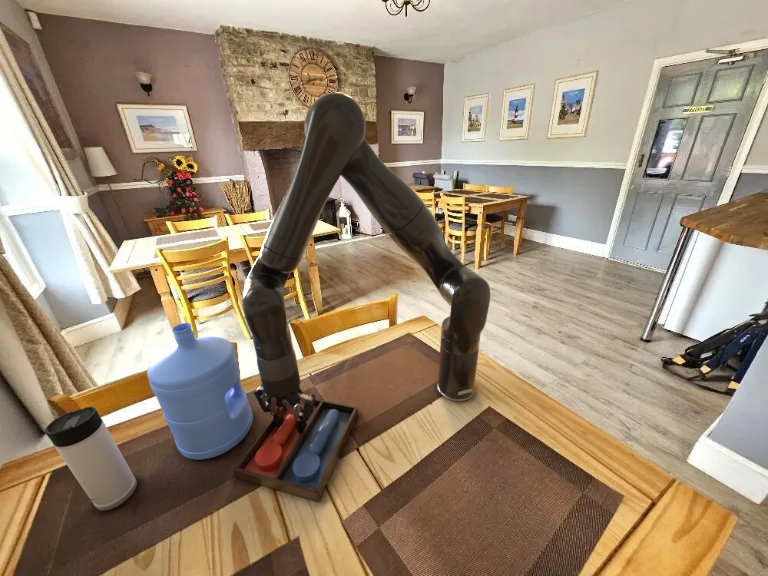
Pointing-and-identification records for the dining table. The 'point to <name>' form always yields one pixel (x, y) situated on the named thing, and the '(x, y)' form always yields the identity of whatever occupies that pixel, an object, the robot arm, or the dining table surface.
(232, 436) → the water jug
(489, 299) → the robot arm
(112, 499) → the travel mug
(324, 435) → the blue round-ended rod
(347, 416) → the sorting tray
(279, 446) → the red disc-ended rod
